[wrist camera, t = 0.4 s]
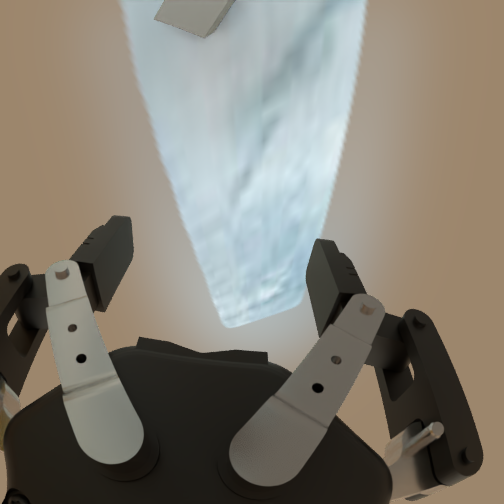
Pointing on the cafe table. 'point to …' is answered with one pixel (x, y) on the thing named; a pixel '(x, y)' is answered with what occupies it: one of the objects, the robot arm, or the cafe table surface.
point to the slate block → (194, 14)
